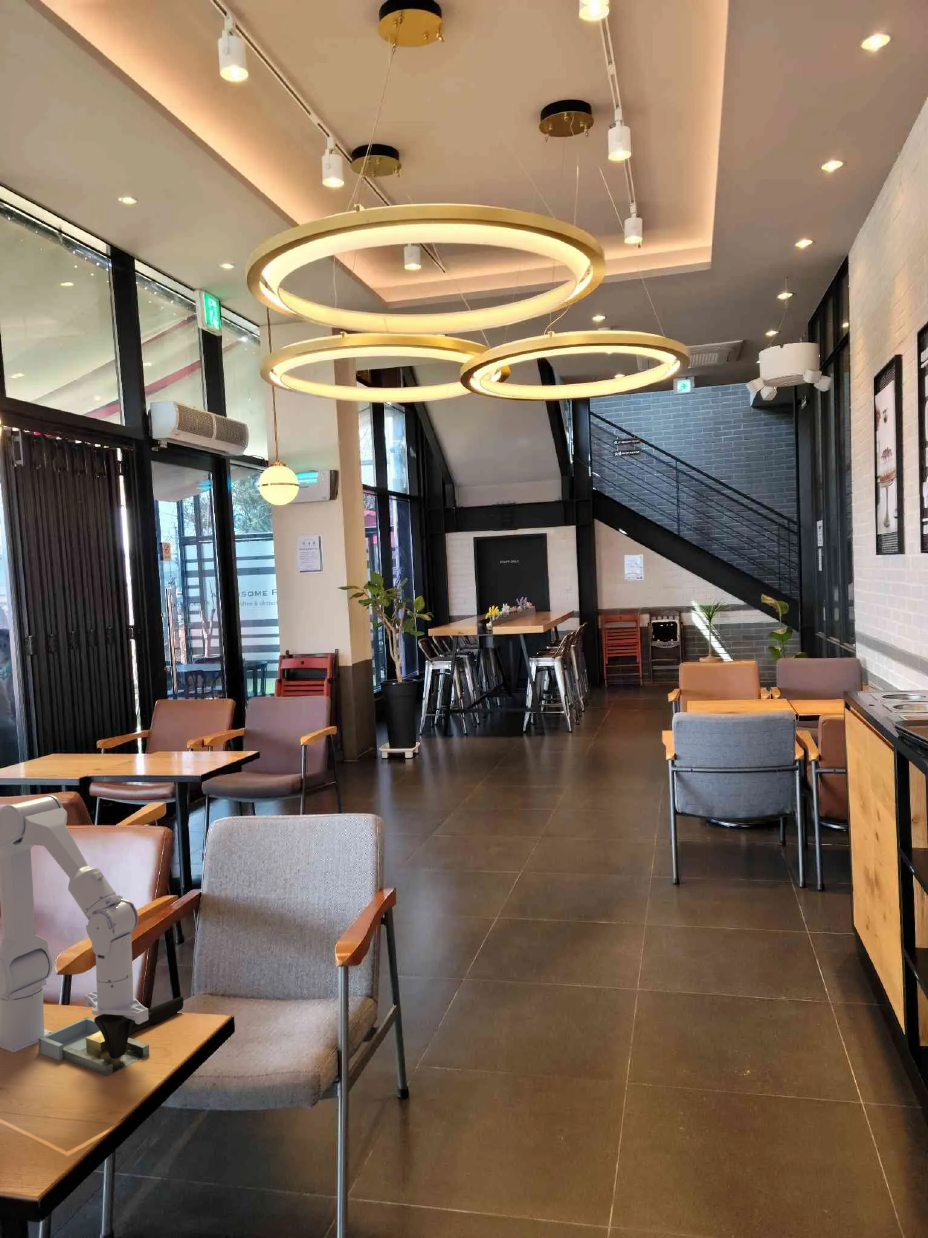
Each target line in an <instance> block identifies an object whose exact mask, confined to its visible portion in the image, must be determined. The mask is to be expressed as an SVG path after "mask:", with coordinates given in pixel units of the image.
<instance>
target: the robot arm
mask: <svg viewBox="0 0 928 1238" xmlns="http://www.w3.org/2000/svg"><path fill="white" fill-rule="evenodd" d="M67 822H68V812H67V810H66V809H65V808H64V806H63V803H62V802H61V800H60V799H59V798H58V797H57V796H55V795H53V794H52V795H51V794H49V795H45V796H43V797H39V798H36V799H30V800H26V801H22V802H17V803H13V804H6V805H4V806H2V807H1V808H0V917H1V919H0V920H1V932H2V933H1V935H2V939H1V941H0V1048H2V1049H4V1050H7V1051H9V1052H12V1053H16V1052H18V1051H20V1050H23V1049H25V1048H27V1047H29V1046H32V1045H33V1044H36V1043H39V1042H38V1038H40V1037H43V1036H45V1035H47V1034H49V1033H52V1032H53V1031H52V1030H49V1029H47V1028H45V1017H44V1015H45V1014H44V990H43V989H44V988H43V987H45V986H46V985H47V979H49V977H50V976H51V975H52V972H53V966H54V965H53V957H52V956H51V954H50V951H49V944H48V940H47V939H45V938H44V937H41V936H39V935H37V934H36V933H37V932H36V920H35V919H36V918H35V903H34V901H35V900H34V886H33V869H32V868H33V867H32V852H31V851H32V848H33V847H34V846H41V847H44V848H45V850H46V851H47V852H48V853H49V854H50V856H51V857H52V858H53V859H54V860H55V862H56V863H57V864H58V865H59V867H60V868H61V870H63V872H64V874H66V875H67V876H68V878H69V882H68V886H67V889H68V892H69V893H70V894H71V896H72V897H73V899H74V901H75V902H76V904H77V906H78V907H79V908H80V910H81V911H82V913H83V914H84V916H85V917H86V918H87V920H88V922H87V925H85V929H86V933H87V936H88V938H89V940H90V942H91V950H92V951H93V953H94V954H95V969H96V970H95V972H96V977H95V978H96V991H95V990H94V991H92V992H89V993H87V994H84V1007H86V1008H91V1007H93V1008H92V1009H91V1012H92V1013H91V1014H93V1016H94V1015H95V1016H96V1017H94V1018H93V1019H94V1022H95V1023H96V1025H97V1026H98V1028H99V1029H100V1031H101V1033H102V1035H103V1037H104V1040H105V1043H106V1046H107V1049H108V1052H109V1055H110V1058H113V1059H117V1058H119V1057H121V1056H123V1055H125V1051H126V1047H127V1042H128V1038H130V1035H131V1034H130V1031H131V1029H132V1026H133V1024H134V1022H135V1023H136V1024H141V1023H143V1022H145V1021H147V1020H148V1009H149V1008H147V1007H145V1006H144V1005H143V1004H141V1002H139V1000H137V998H136V997H135V996H134V979H133V978H134V976H133V975H134V974H133V973H134V971H133V951H132V950H133V948H132V946H133V945H132V933H133V932H134V931H135V930H136V928H137V927H138V925H139V913H138V910H137V908H136V907H135V904H134V903H133V902H132V901H131V900H129V899H126V898H124V897H123V896H122V895H120V894H118V895H117V893H116V892H115V890H114V889H113V887H112V886H111V884H110V882H109V881H108V880H107V878H106V877H105V876H104V874H103V872H102V871H101V870H100V868H98V867H93V866H89V864H88V862H87V861H86V859H85V857H84V856H83V854H82V852H81V850H80V848H79V846H78V845H77V843H76V841H75V838H74V837H73V835H72V834H71V832H70V830H69V828H68V826H67Z"/></svg>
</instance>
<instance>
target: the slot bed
mask: <svg viewBox="0 0 928 1238" xmlns="http://www.w3.org/2000/svg"><path fill="white" fill-rule="evenodd" d="M62 1055H63V1059H62V1060H64V1061H66V1062H68V1063H71V1064H74V1065H77V1066H79V1067H82V1068H84V1069H86V1070H88V1071H92V1072H94V1073H96V1074H99V1075H102V1076H104V1077H108V1076H110V1075H113V1074H114V1073H116V1072H119V1071H120V1070H121V1069H124V1068H126V1067H128V1066H129V1065H131V1064H134V1063H136V1062H137V1061H139V1060H141V1059H143V1058H145V1057H147V1056H149V1055H150V1044H147V1043H145V1042H142V1041H139V1040H137V1039H135V1038H131V1037H129V1038H128V1042H127V1047H126V1051H125V1055H123V1056H121V1057H119V1058H117V1059H113V1058H112V1059H110V1060H108V1061H105V1060H103V1059H100V1058H97V1057H95V1056H92V1055H90V1054H87V1053H86V1048H84V1049H82V1050H80V1051H79V1050H76V1049H74V1048H71V1047H67V1048H64V1049H62Z"/></svg>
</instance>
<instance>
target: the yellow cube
mask: <svg viewBox="0 0 928 1238" xmlns="http://www.w3.org/2000/svg"><path fill="white" fill-rule="evenodd" d="M86 1053H87V1054H90V1055H92V1056H95V1057H97V1058H100V1059H103V1060H105V1061H108V1060H110V1059H112V1058H110V1055H109V1052H108V1049H107V1046H106V1043H105V1040H104V1037H103V1035H102V1033H101V1031H99V1032H97V1033H95V1034H93V1035H91V1036H88V1037H86Z"/></svg>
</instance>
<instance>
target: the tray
mask: <svg viewBox="0 0 928 1238" xmlns="http://www.w3.org/2000/svg"><path fill="white" fill-rule="evenodd" d="M94 1019H95V1018H93V1017H90V1016H86V1017H84V1018H82V1019H79V1020H77V1021H74V1022H73V1023H70V1024H68V1025H66V1026H63V1027H61V1028H59V1029H57V1030H54V1031H52V1033H49V1034H47V1035H45V1036H43V1037H40V1038H38V1042H37V1043H38V1053H39V1054H42V1055H44V1056H47V1057H50V1058H52V1059H54V1060H57V1061H62V1060H64V1059H63V1055H62V1049H64V1048H67V1047H71V1048H74V1049H76V1050H79V1051H80V1050H82V1049H84V1048H86V1037H88V1036H91V1035H93V1034H95V1033H97V1032H99V1031H100V1029H99V1028H98V1026H97V1025H96V1023H95V1022H94Z"/></svg>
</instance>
